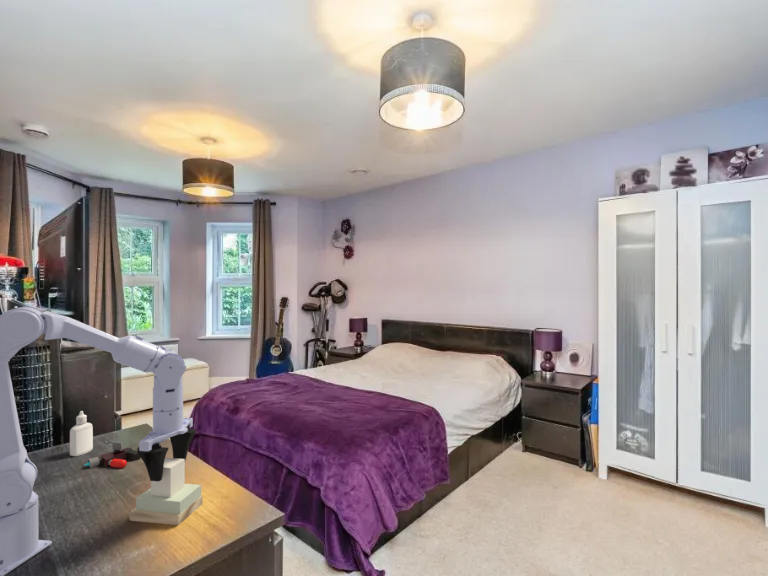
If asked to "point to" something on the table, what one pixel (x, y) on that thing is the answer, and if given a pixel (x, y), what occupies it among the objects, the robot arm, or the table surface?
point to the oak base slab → (164, 515)
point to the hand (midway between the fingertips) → (168, 471)
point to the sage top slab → (169, 500)
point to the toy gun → (114, 457)
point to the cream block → (170, 478)
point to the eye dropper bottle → (81, 436)
